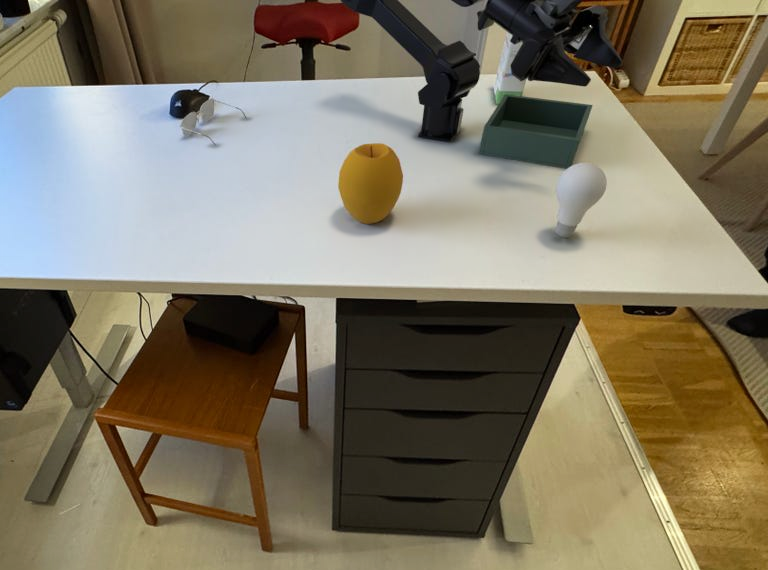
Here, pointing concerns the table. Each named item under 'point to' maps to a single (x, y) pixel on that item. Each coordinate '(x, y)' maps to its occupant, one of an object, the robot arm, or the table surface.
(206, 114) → the eyeglasses
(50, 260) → the table surface
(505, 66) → the ink box
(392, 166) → the apple
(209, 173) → the table surface
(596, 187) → the lightbulb
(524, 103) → the bin
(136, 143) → the table surface
